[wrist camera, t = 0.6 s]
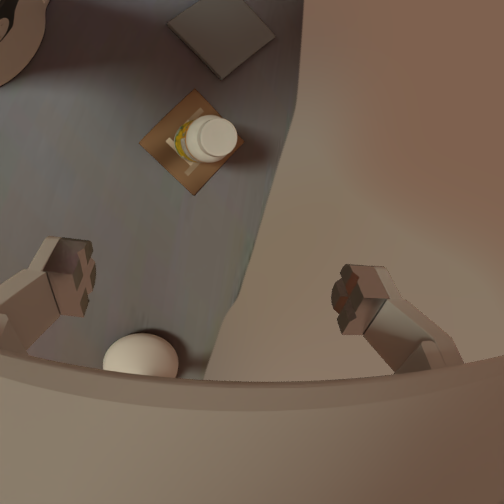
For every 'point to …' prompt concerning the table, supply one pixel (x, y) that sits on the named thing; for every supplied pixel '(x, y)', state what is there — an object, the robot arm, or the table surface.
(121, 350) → the flower in vase
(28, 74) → the table surface
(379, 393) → the robot arm
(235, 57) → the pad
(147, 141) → the tile
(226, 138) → the supplement bottle
